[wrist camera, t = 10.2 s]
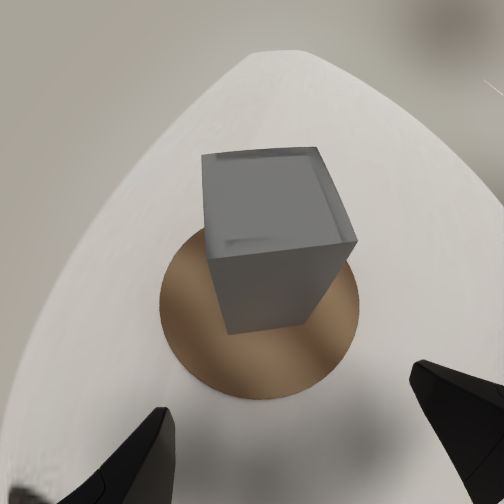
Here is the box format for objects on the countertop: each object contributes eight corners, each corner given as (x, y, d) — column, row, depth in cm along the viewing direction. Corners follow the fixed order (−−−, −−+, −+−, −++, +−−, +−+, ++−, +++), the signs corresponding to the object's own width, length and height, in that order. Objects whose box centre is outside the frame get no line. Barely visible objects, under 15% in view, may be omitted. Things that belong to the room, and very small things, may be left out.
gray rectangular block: (304, 323, 17) (357, 241, 9) (228, 335, 17) (206, 259, 8) (289, 257, 20) (316, 146, 11) (220, 266, 20) (201, 155, 11)
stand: (270, 439, 15) (278, 453, 10) (130, 305, 19) (101, 277, 15) (382, 291, 20) (412, 261, 16) (251, 197, 25) (252, 155, 20)
